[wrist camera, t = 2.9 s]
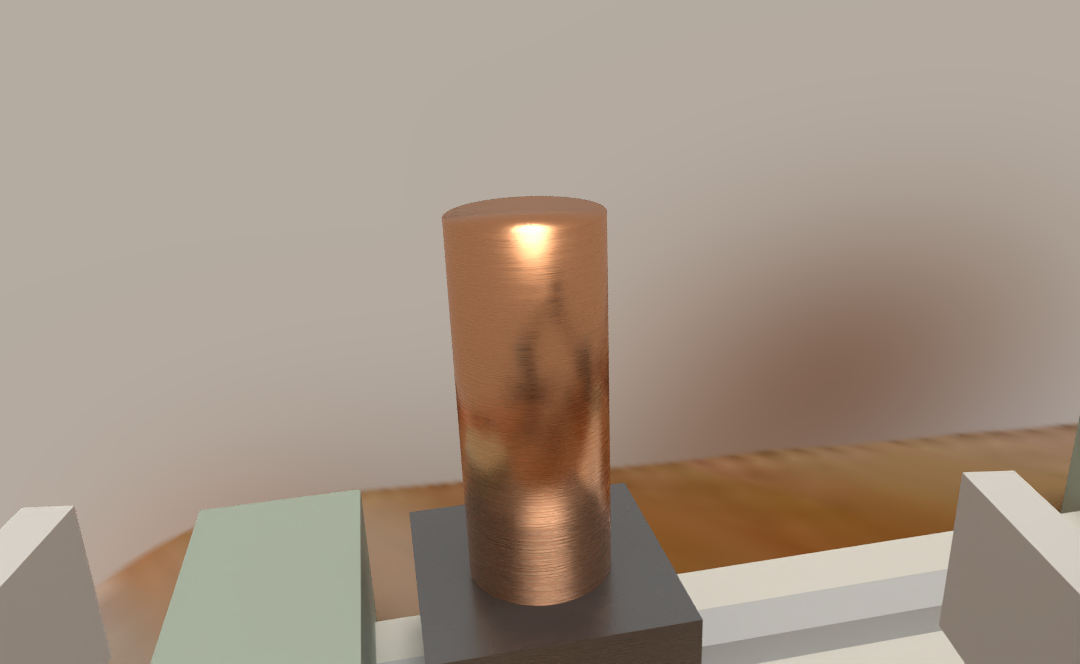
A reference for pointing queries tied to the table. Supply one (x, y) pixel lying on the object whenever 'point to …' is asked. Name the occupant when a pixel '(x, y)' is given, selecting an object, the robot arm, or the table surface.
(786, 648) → the rail board
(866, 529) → the table surface
